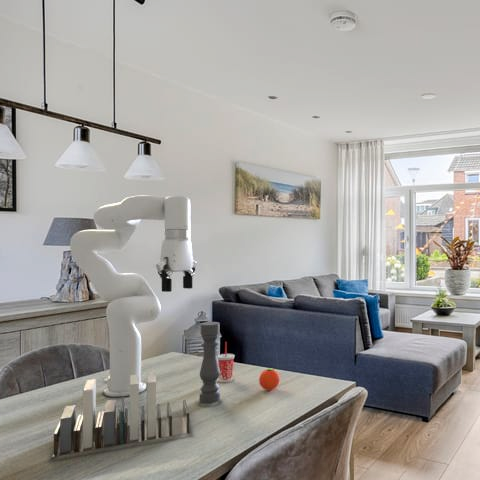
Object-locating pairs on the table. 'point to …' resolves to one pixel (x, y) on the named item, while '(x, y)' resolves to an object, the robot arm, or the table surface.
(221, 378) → the beverage cup
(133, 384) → the white book
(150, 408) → the white book
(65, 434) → the grey book
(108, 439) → the grey book
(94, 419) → the white book
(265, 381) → the clementine
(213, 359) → the candle holder
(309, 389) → the table surface
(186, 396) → the table surface
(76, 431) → the book rack
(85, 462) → the table surface
